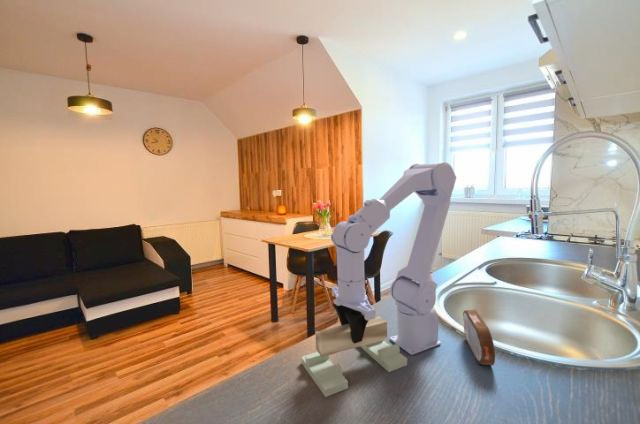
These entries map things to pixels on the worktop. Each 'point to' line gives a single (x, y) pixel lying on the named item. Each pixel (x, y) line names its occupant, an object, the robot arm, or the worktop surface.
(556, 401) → the worktop surface
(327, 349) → the bar
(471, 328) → the brown rounded slab
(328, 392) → the stand
